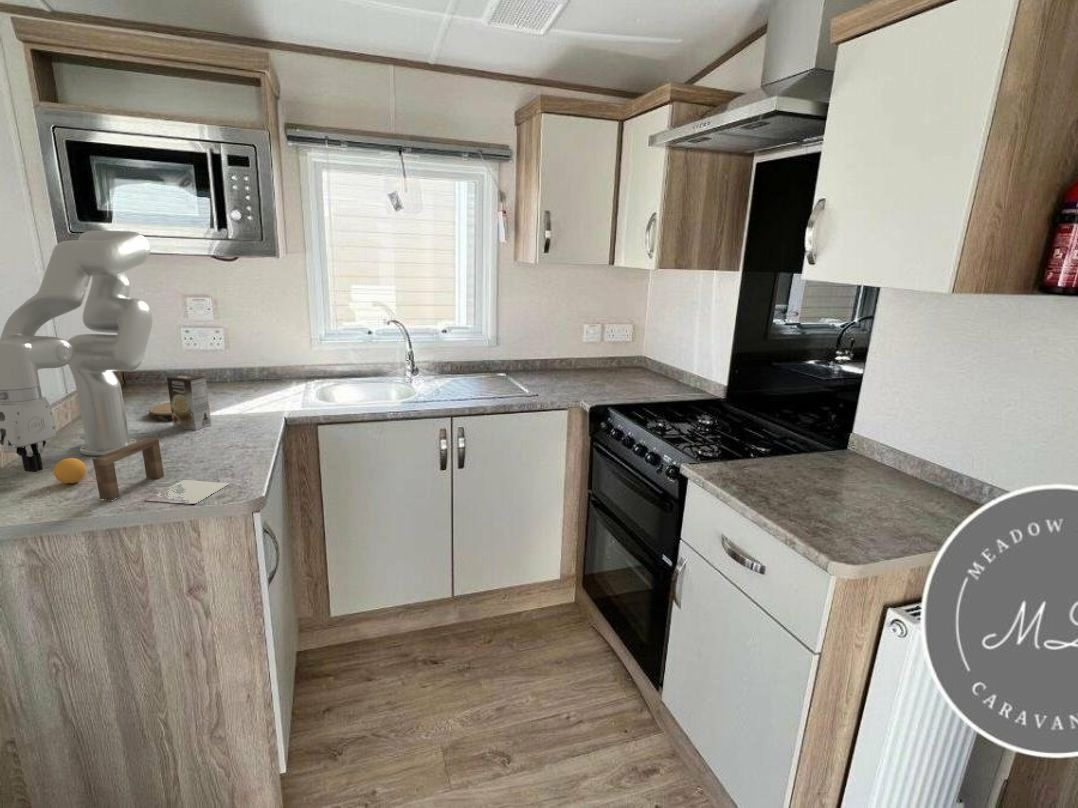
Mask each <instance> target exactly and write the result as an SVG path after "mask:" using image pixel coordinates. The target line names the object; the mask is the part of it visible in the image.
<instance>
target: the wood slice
mask: <svg viewBox="0 0 1078 808" xmlns="http://www.w3.org/2000/svg"><path fill="white" fill-rule="evenodd" d="M148 416H149V419H150V420H152V421H157V422H173V419H172V412H171V405H170V401H169V402H165V403H160V404H156V405H153V406H151V407H150V408H149V409H148Z"/></svg>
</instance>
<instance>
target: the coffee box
mask: <svg viewBox="0 0 1078 808" xmlns="http://www.w3.org/2000/svg"><path fill="white" fill-rule="evenodd" d="M166 381H167V382H166V383H167V390H168V397H169V402H170V405H171V412H172V419H173V421H172V424H173V427H174V428H179V429H186V430H193V431H198V430H200V429H203V428H207V427H209V426H211V425H212V419H211V411H210V402H209V394H208V386H207V378H206V376H205V375H201V374H194V373H193V374H192V373H185V372H183V373H179V374H175V375H171V376H167V377H166Z"/></svg>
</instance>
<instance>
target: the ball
mask: <svg viewBox="0 0 1078 808" xmlns="http://www.w3.org/2000/svg"><path fill="white" fill-rule="evenodd" d="M87 471H88V470H87V466H86V464H85V463H84V461H82V459H79V458H75V457H66V458H63V459H62V460H60V461H58V462H57V463H56V464H55V466H54V469H53V476H54V478H55V479H56V480H57V481H58V482H60V483H63V484H67V483H71V484H75V482H76V483H78V482H80V481H81V480H82V479H84V477H85V476H86V474H87Z"/></svg>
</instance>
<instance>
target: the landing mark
mask: <svg viewBox="0 0 1078 808" xmlns="http://www.w3.org/2000/svg"><path fill="white" fill-rule="evenodd" d="M180 484H181V485H182V486H181V487H183V488H184V489H186V490H184V491H185V492H184V491H183V492H184V494H183V493H181V495H179V494H177V493H175V492H177V491H176V490H174V489H177V488H175V487H174V486H177V485H180ZM230 484H231V483H228V482H215V481H205V480H194V479H193V480H192V479H182V480H180V481H179V482H176V483H175V484H173V485H171V486H169V487H168V488H171V487H174V489H172V488H171V489H170V490H168V491H169V492H168V491H167V492H168V496H169V497H167V496H166V495H165V496H166V497H167V498H168V499H172V498H174V499H178V498H175V497H178V496H180V497H184V498H183V500H189V503H197V504H199V503H201V502H202V501H204V500H205V498H206V497H207V498H209V497H210V495H211V494H213V493H214V494H216V493H217V491H218V492H219V491H221V490H223V489H225V488H226V487H228V486H229V485H230ZM227 485H228V486H227ZM225 486H226V487H225ZM177 487H178V486H177ZM222 488H223V489H222ZM220 489H221V490H220ZM171 490H173V491H175V492H173V491H171ZM160 492H161V491H160ZM160 492H158V493H159V494H157V493H155V494H156V495H157V496H159V497H162V496H160V495H161V493H160ZM215 492H216V493H215ZM169 494H170V495H169ZM214 494H213V495H214ZM182 495H183V496H182ZM173 496H174V497H173ZM208 496H209V497H208ZM211 496H212V495H211ZM207 498H206V499H207ZM203 499H204V500H203ZM180 500H181V499H180ZM201 500H202V501H201ZM198 501H199V503H198ZM200 501H201V502H200ZM185 502H188V501H185Z"/></svg>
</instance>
